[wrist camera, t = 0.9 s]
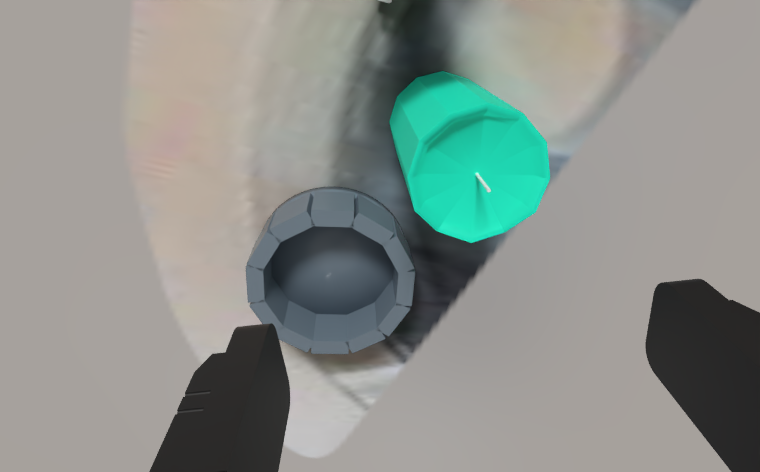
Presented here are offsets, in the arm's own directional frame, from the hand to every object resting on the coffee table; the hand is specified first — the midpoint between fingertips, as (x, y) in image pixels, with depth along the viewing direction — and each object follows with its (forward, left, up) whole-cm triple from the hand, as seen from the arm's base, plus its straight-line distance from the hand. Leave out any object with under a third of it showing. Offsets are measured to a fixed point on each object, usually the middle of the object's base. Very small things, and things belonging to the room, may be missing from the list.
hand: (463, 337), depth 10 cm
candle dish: (+7, +6, -21) cm, 23 cm away
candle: (-3, +1, -21) cm, 21 cm away
